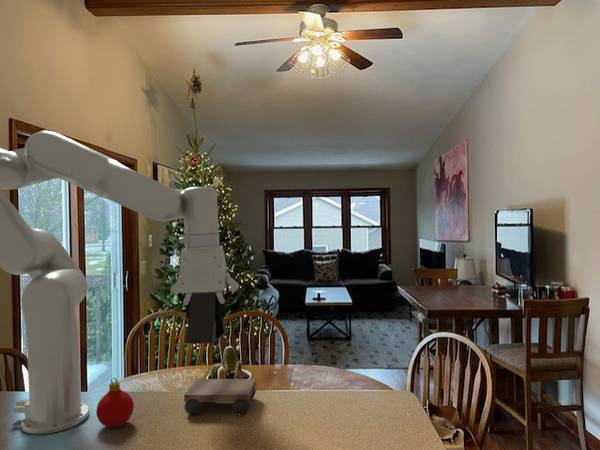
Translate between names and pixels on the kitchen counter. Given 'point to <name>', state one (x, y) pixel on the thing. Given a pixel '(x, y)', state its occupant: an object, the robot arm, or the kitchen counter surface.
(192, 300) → the phone stand
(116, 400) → the christmas ornament
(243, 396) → the trolley
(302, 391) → the kitchen counter surface
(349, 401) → the kitchen counter surface
